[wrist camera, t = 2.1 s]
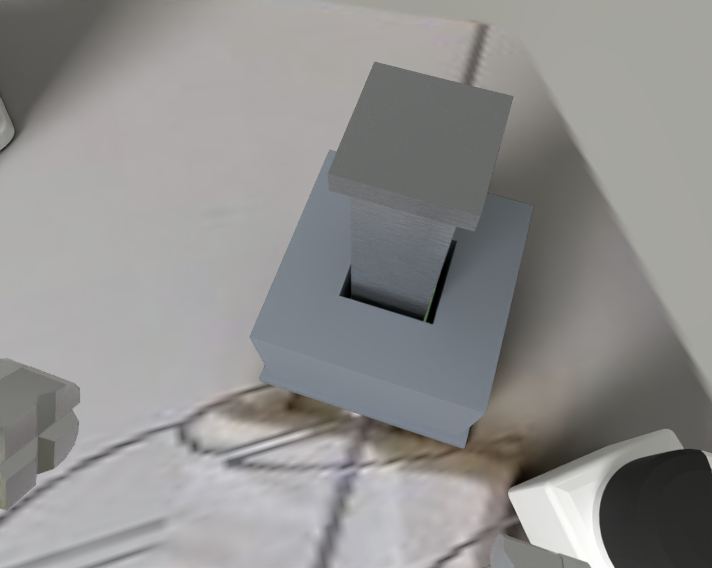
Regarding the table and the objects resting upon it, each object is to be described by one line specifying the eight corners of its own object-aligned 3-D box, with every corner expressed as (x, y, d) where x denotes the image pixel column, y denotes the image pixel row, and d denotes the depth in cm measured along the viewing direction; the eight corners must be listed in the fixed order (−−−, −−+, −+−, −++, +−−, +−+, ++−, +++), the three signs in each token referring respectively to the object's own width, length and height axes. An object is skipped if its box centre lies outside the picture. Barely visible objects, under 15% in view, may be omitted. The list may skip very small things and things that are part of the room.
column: (339, 337, 34) (327, 173, 18) (364, 266, 36) (374, 61, 20) (419, 363, 34) (480, 216, 18) (440, 289, 36) (513, 96, 20)
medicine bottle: (566, 622, 29) (694, 683, 18) (504, 490, 32) (583, 473, 21) (678, 568, 30) (863, 594, 19) (609, 444, 33) (737, 405, 22)
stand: (261, 381, 34) (231, 335, 26) (329, 212, 39) (323, 127, 31) (462, 448, 33) (500, 422, 24) (507, 263, 38) (551, 188, 29)
